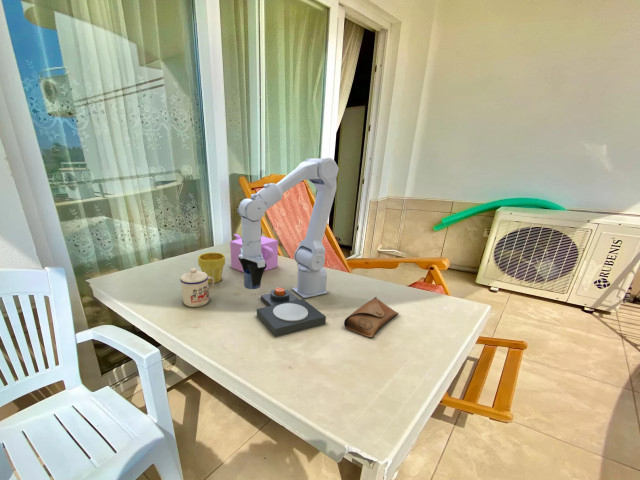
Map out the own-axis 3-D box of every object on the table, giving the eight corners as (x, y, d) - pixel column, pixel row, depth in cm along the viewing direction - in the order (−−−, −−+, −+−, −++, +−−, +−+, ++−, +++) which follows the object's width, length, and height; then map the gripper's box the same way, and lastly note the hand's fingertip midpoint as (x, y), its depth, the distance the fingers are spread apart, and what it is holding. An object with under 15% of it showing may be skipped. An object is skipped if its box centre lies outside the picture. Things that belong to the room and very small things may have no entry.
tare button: (281, 291, 101) (281, 286, 101) (286, 294, 98) (286, 290, 98) (273, 292, 100) (273, 288, 99) (277, 296, 97) (277, 292, 97)
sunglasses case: (374, 338, 78) (363, 314, 78) (350, 340, 83) (340, 318, 83) (400, 312, 89) (391, 291, 90) (378, 316, 95) (369, 296, 95)
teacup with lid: (191, 310, 96) (188, 276, 92) (177, 301, 103) (174, 268, 98) (222, 298, 103) (220, 266, 99) (207, 290, 110) (204, 260, 106)
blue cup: (256, 281, 99) (256, 266, 97) (263, 287, 94) (263, 272, 92) (241, 284, 97) (241, 269, 96) (248, 290, 92) (247, 275, 91)
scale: (302, 305, 96) (302, 297, 95) (325, 324, 86) (326, 315, 85) (256, 316, 91) (256, 307, 90) (275, 337, 81) (275, 327, 80)
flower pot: (231, 277, 120) (230, 254, 117) (215, 287, 112) (214, 262, 109) (210, 273, 126) (209, 250, 122) (194, 281, 117) (192, 258, 114)
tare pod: (287, 293, 105) (287, 285, 104) (299, 303, 98) (299, 294, 97) (260, 298, 102) (260, 290, 101) (271, 309, 95) (271, 300, 94)
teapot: (248, 255, 145) (247, 227, 140) (285, 269, 126) (286, 237, 122) (222, 263, 137) (220, 232, 132) (258, 279, 118) (257, 244, 113)
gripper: (230, 236, 96) (232, 275, 100) (248, 248, 83) (249, 293, 88) (251, 233, 98) (252, 272, 103) (271, 244, 85) (271, 288, 90)
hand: (252, 281), depth 95 cm, fingers closed on blue cup, 5 cm apart
